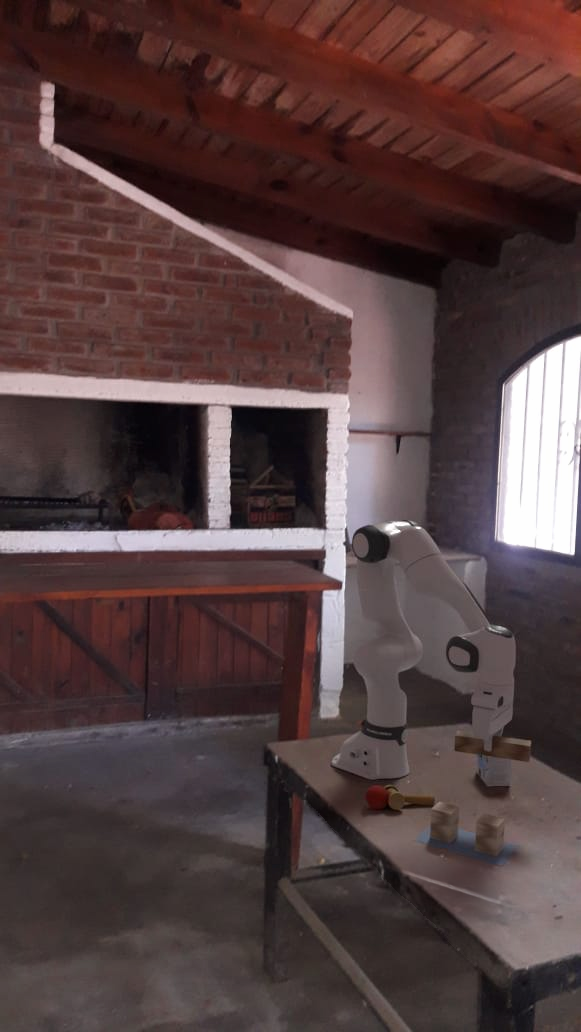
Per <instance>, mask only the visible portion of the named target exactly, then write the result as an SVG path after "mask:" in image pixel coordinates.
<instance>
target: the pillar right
mask: <svg viewBox="0 0 581 1032" xmlns="http://www.w3.org/2000/svg"><path fill="white" fill-rule="evenodd" d="M505 821H506V819H505V818H503V817H498V816H495V815H492V814H487V813H482V815H481V816H480V817H479V818H477V820H476V821H475V822H476V823H475V824H476V825H475V833H476V839H475V851H478V852H481V853H485V854H488V855H492V856H495V857H497V855H498V854H499V853H500V852H501V850H502V849H503V844H504V842H505V838H504V837H505V824H506V823H505Z"/></svg>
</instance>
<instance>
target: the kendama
mask: <svg viewBox="0 0 581 1032" xmlns="http://www.w3.org/2000/svg"><path fill="white" fill-rule="evenodd" d="M435 801H436V799H435V795H434V794H403V793H401V792H400V791H399V789H398V788H397V787H396V786H394V785H393V784H386V785H384V786H382V785H380V784H379V785H377V784H376V785H372V786H370V787H369V788H368V789H367V790H366V794H365V802H366V805H367V806H368V807H369V808H370V809H372V810H373V809H374V810H376V811H378V810H379V811H380V810H383V809H385V808H388V807H390V808H391V809H392V810H395V811H399V810H401V809H402V808H403V807H404V806H405V805H406V804H413V805H418V806H432V807H434V806H435Z"/></svg>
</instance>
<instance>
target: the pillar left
mask: <svg viewBox="0 0 581 1032" xmlns="http://www.w3.org/2000/svg"><path fill="white" fill-rule="evenodd" d="M430 813H431V814H430V825H431V828H430V838H433V839H437V840H440V841H444V842H447V843H451V842H452V841H453V840H454V839H455V838H456V837H457V836H458V829H459V823H460V822H459V820H460V819H459V818H460V806H457V805H453V804H451V803H446V802H443V801H439V802H437V803H436V804H434V806H432V808H431V810H430Z"/></svg>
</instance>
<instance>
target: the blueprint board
mask: <svg viewBox="0 0 581 1032" xmlns="http://www.w3.org/2000/svg"><path fill="white" fill-rule="evenodd" d="M430 828H431V824H430V825H429V826H428V827H427V828H426V829H425V830H424V831H422V832H421V833H420V834H419V835H418V836H417V837H416V838H415V839H414V840H413V841H415V842H418V843H422V844H425V845H428V846H432V847H435V848H438V849H441V850H445V851H448V852H452V853H454V854H459V855H463V856H466V857H469V858H472V859H475V860H479V861H483V862H486V863H489V864H492V865H495V866H499V867H504V865H505V864H506V862H507V861H508V859H510V857H511V856H512V855H513V853H514V852H515V851H516V850H517V848H518V847H519V845H518V844H515V843H511V842H507V841H504V844H503V849H502V850H501V852H500V853H499V854H498V855H497V857H495V856H492V855H488V854H485V853H481V852H478V851H475V839H476V832H471V831H468V830H464V829H461V828H458V836H457V837H456V838H455V839H454V840H453V841H452V842H451V843H447V842H444V841H440V840H437V839H433V838H430Z"/></svg>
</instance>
